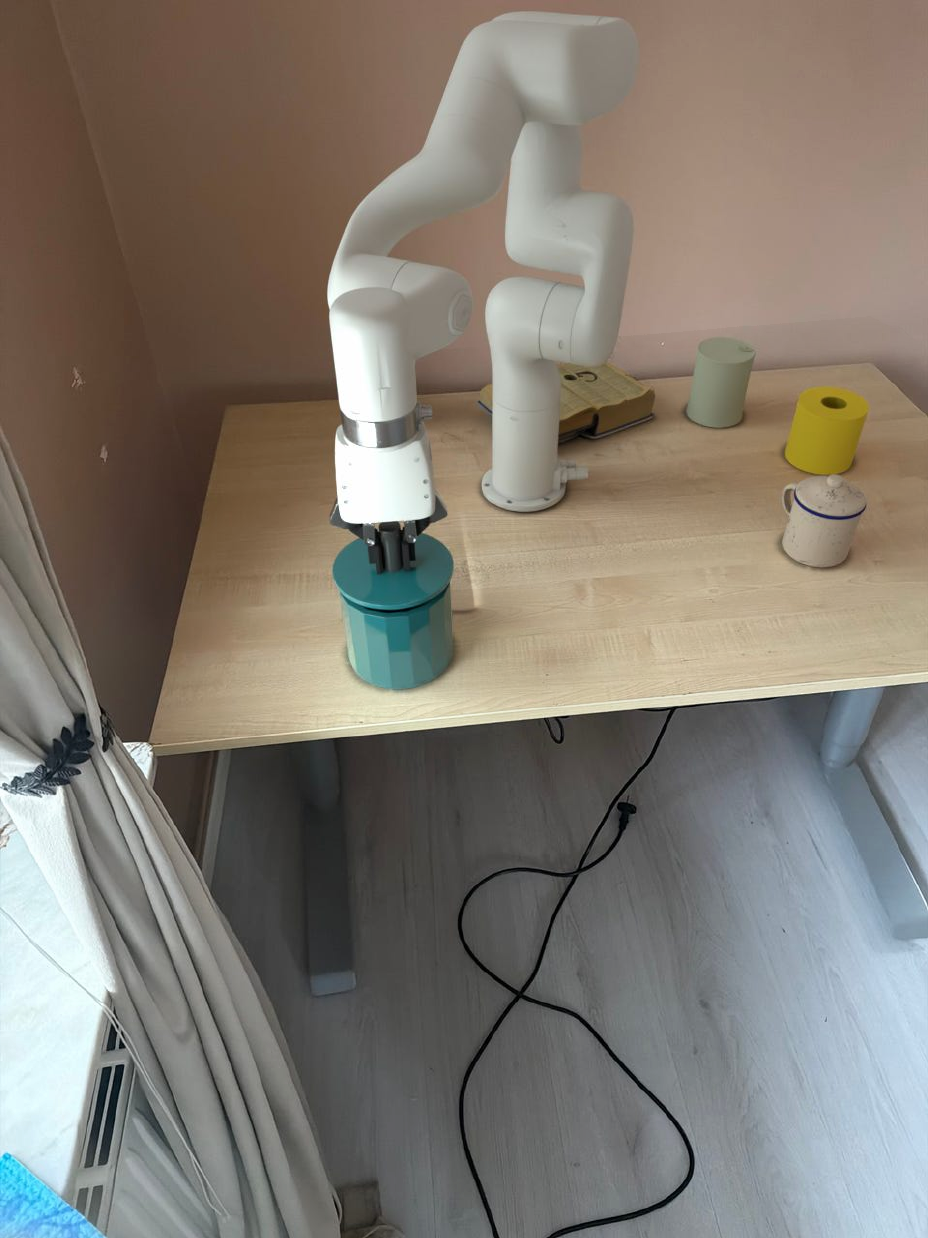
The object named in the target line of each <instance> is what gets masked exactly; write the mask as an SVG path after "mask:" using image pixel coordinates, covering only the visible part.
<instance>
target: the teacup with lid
mask: <svg viewBox="0 0 928 1238" xmlns="http://www.w3.org/2000/svg"><path fill="white" fill-rule="evenodd" d="M792 490H793V501H791V495H792ZM781 503H782V507H783V509H784V511H785V513H786V514H787V516H788V519H787V523H786V527H785V530H784V533H783V537H782V541H781V542H782V543H781V544H782V547H783V550H784V552H785V553H786V554H787V555H788V556H789V557H790V558H791V559H793V560H794V561H796V562H798V563H800V564H803V565H805V566H809V567H812V568H813V567H814V568H830V567H835V566H838V565H839V564H841V563H843V562H844V561H845V560H846V559H847V557H848V555H849V552H850V549H851V546H852V543H853V541H854V538H855V535H856V532H857V529H858V526H859V523H860V520H861V517H862V515H863V513H864V512H865V511H866V508H867V505H868V504H867V498H866V494H865V493H864V491H863V490H862V489H861V488H860V486H858V485H856V484H855V483H853V482H851V481H849V480H848V479H844V477H843V476H842V475H840V474H833V475H815V476H809V477H807V478H804V479H803V480H802V481H800V482H799V483H798V482H791V483H788V484H787V485H785V486H784V488H783V489H782V493H781Z"/></svg>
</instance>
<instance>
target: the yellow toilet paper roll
mask: <svg viewBox="0 0 928 1238" xmlns="http://www.w3.org/2000/svg"><path fill="white" fill-rule="evenodd" d="M869 411H870V405H869V403H868V401H867V400H866V399H865V398H864V397H863V396H861V395H860V394H858V393H855V392H854V391H851V390H849V389H845V388H839V387H836V386H835V387H834V386H815V387H811V388H808V389H805V390H804V391H803V392H801V393H800V394H799V396H798V399H797V404H796V408H795V411H794V412H795V413H794V414H793V418H792V423H791V427H790V431H789V435H788V439H787V442H786V446H785V450H784V457H785V459H786V460H787V461H788V463H790V464H791V465H792V466H793V467H794V468H797V469H799V470H801V471H803V472H806V473H809V474H814V475H819V476H830V475H833V474H836V475H840V474H842V473H844V472H846V471H848V470H849V469H850V468H851V466H852V463H853V460H854V457H855V454H856V452H857V448H858V444H859V441H860V438H861V435H862V432H863V429H864V426H865V424H866V420H867V416H868V413H869Z"/></svg>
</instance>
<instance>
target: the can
mask: <svg viewBox="0 0 928 1238" xmlns="http://www.w3.org/2000/svg"><path fill="white" fill-rule="evenodd" d="M755 357H756V349H755V347H754V346H753V345H751V344H750V343H748V342H747V341H745V340H742V339H739V338H735V337H729V336H719V337H717V336H715V337H710V338H706V339H704V340H702V341H700V342H699V343H698V344H697V347H696V356H695V364H694V369H693V375H692V380H691V381H692V382H691V388H690V393H689V399H688V402H687V403H688V404H687V407H686V409H685V411H686V415H687V417H688V418H689V420H691V421H692V422H694V423H695V424H698V425H699V426H700V425H701V426H702V427H703V426H704V427H707V428H714V429H722V428H723V429H724V428H731V427H733V426H736V425H737V424H739V423H741V421H742V419H743V417H744V416H743V415H744V413H743V412H744V406H745V401H746V398H747V397H746V396H747V391H748V388H749V383H750V379H751V378H750V377H751V374H752V369H753V365H754V361H755Z"/></svg>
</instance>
